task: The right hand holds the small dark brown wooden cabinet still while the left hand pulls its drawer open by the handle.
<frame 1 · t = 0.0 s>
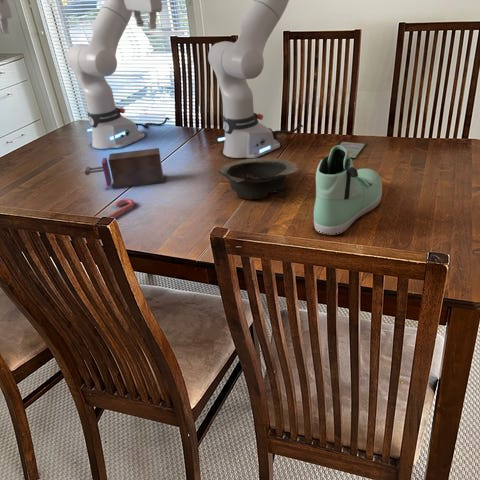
left hand: (0, 32, 160), 48 cm above the table, tool pointing down, fingers open, 8 cm apart
right hand: (146, 27, 146), 48 cm above the table, tool pointing down, fingers open, 8 cm apart
sneaker: (348, 208, 139), on the table
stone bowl: (258, 188, 155), on the table
drawer: (118, 170, 162), point 5 cm above the table, slide at 1.2 cm
candy cane: (116, 213, 147), on the table
cabinet: (139, 182, 166), on the table
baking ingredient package: (348, 150, 177), on the table
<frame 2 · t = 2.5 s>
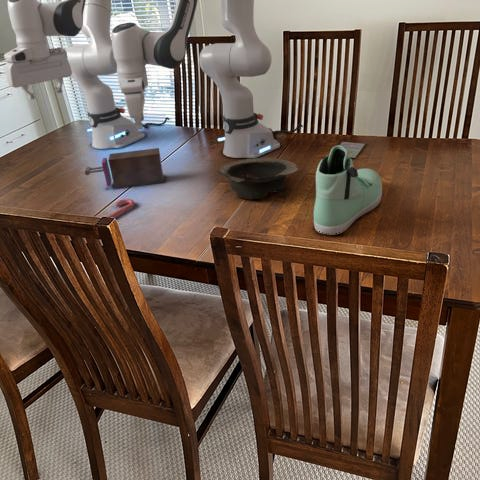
left hand: (46, 95, 158), 29 cm above the table, tool pointing down, fingers open, 8 cm apart
right hand: (140, 124, 156), 20 cm above the table, tool pointing down, fingers open, 8 cm apart
nothing on the table moved.
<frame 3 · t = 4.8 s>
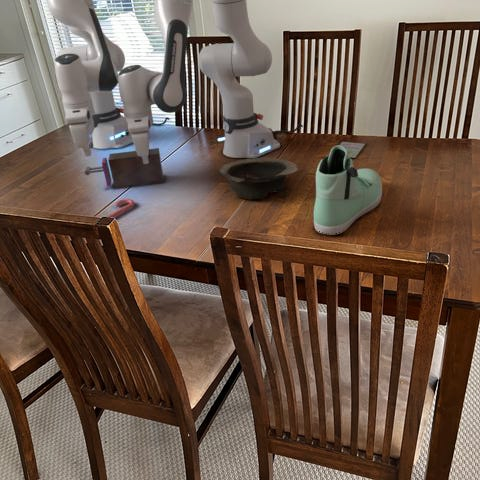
left hand: (89, 151, 157), 13 cm above the table, tool pointing down, fingers open, 6 cm apart
right hand: (146, 159, 162), 8 cm above the table, tool pointing down, fingers closed on cabinet, 6 cm apart
cabinet: (139, 182, 166), on the table, touching right hand
everything else where it was.
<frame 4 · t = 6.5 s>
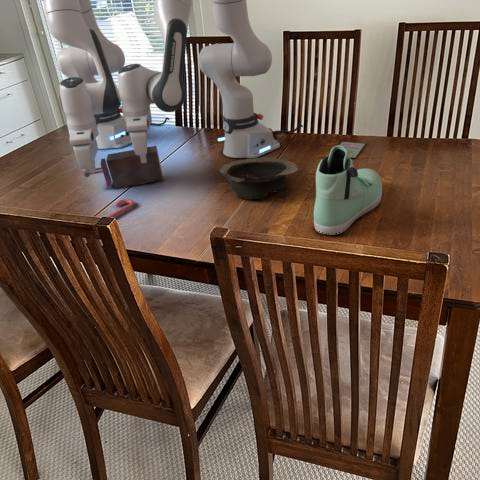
left hand: (93, 171, 160), 6 cm above the table, tool pointing down, fingers closed, pressing on drawer
right hand: (144, 158, 161), 8 cm above the table, tool pointing down, fingers closed on cabinet, 6 cm apart
drawer: (118, 170, 162), point 5 cm above the table, slide at 1.1 cm, touching left hand
cabinet: (139, 181, 165), on the table, touching right hand
everything else where it was.
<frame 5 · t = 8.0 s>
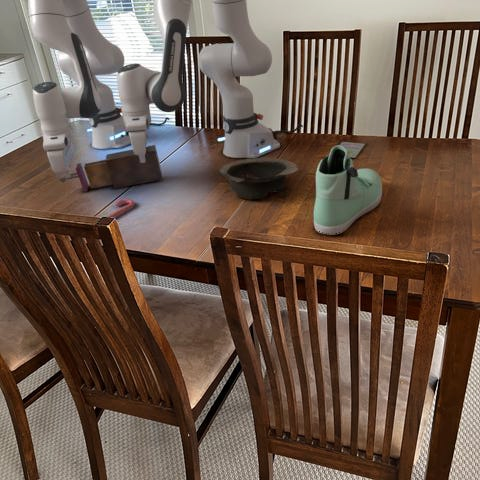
left hand: (68, 176, 160), 6 cm above the table, tool pointing down, fingers closed, pressing on drawer
right hand: (143, 158, 161), 8 cm above the table, tool pointing down, fingers closed on cabinet, 6 cm apart
drawer: (94, 175, 162), point 5 cm above the table, slide at 8.9 cm, touching left hand
cabinet: (138, 180, 165), point 1 cm above the table, touching right hand
everything else where it was.
when the right hand's fingers open (8 cm above the table, at t = 9.8 s): cabinet stays where it is, on the table.
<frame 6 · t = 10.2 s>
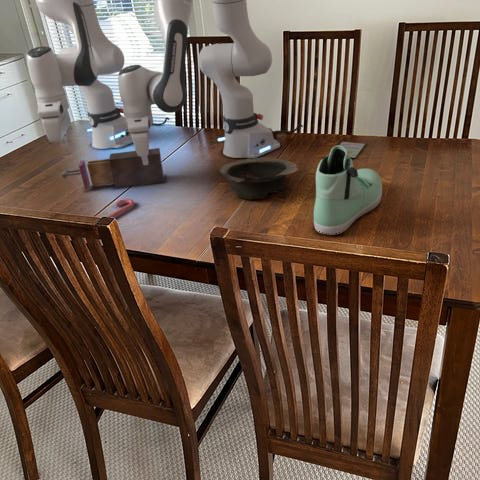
left hand: (64, 146, 155), 16 cm above the table, tool pointing down, fingers closed
right hand: (146, 159, 162), 8 cm above the table, tool pointing down, fingers open, 8 cm apart
drawer: (96, 173, 162), point 5 cm above the table, slide at 8.8 cm
cabinet: (140, 182, 166), on the table
everything else where it was.
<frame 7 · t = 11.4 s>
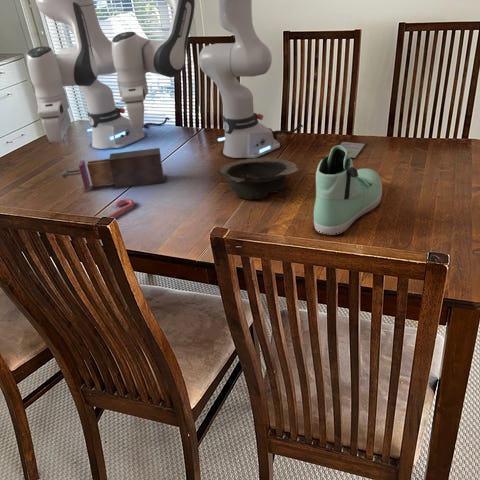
left hand: (64, 146, 155), 16 cm above the table, tool pointing down, fingers closed
right hand: (141, 132, 157), 17 cm above the table, tool pointing down, fingers open, 8 cm apart
nothing on the table moved.
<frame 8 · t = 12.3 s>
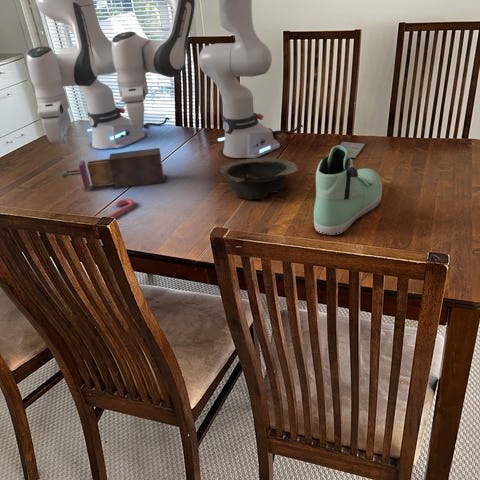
left hand: (64, 146, 155), 16 cm above the table, tool pointing down, fingers closed
right hand: (141, 132, 157), 18 cm above the table, tool pointing down, fingers open, 8 cm apart
nothing on the table moved.
at the end: drawer slide at 8.8 cm; cabinet tilted 0°; cabinet never tilted more than 5° during the clip; cabinet moved 0.2 cm from its start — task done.
